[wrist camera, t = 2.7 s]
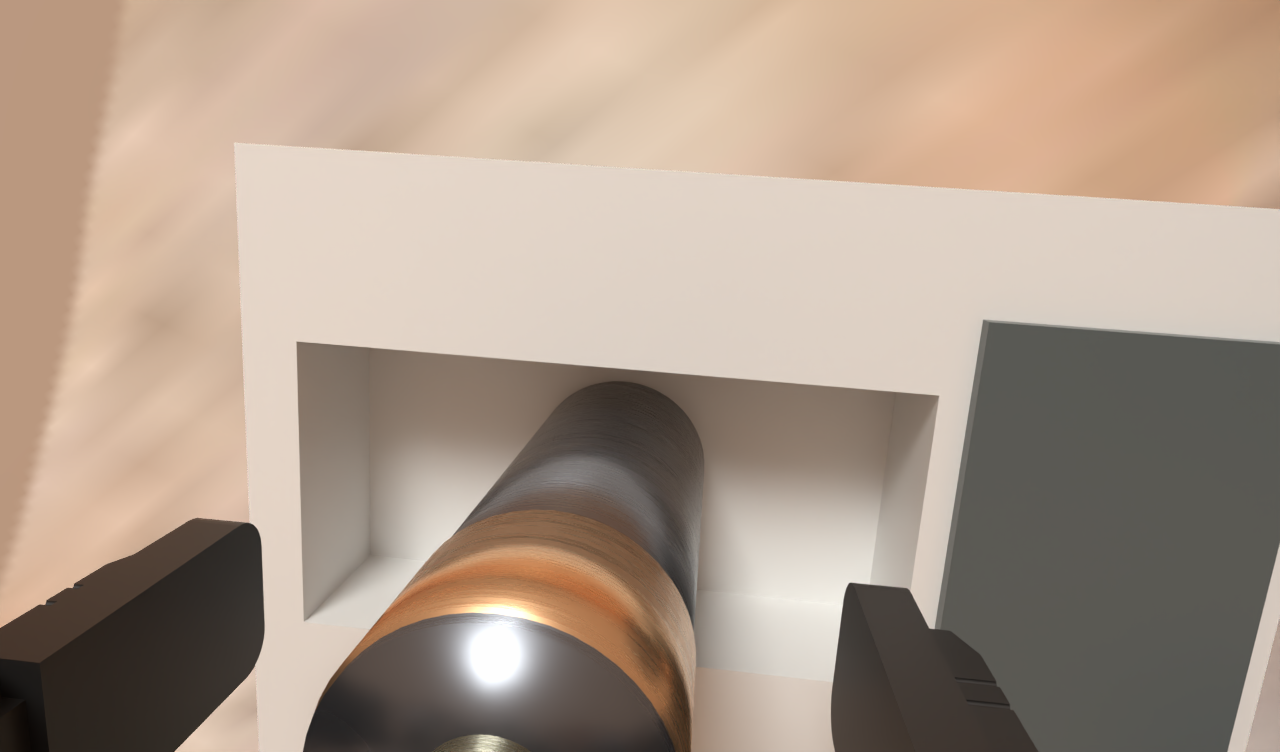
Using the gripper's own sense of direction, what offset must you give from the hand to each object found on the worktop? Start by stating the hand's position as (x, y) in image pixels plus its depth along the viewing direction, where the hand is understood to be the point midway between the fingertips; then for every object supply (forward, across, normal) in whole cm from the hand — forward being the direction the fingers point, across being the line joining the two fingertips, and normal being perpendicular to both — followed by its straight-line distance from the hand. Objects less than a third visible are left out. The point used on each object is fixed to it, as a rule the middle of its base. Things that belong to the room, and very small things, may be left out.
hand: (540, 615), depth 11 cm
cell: (+6, 0, 0) cm, 7 cm away
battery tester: (+7, -3, 0) cm, 8 cm away
